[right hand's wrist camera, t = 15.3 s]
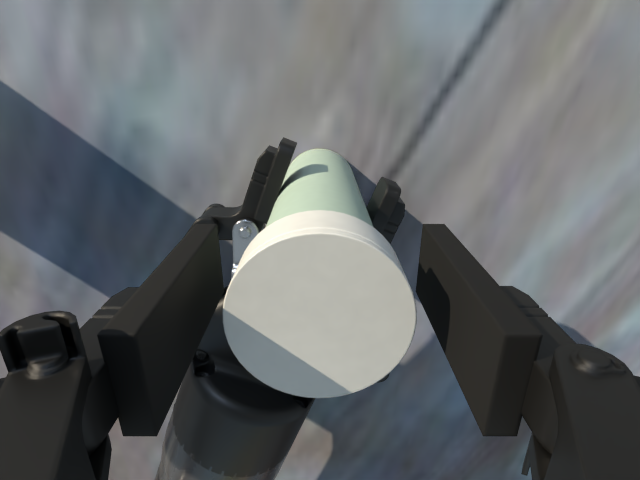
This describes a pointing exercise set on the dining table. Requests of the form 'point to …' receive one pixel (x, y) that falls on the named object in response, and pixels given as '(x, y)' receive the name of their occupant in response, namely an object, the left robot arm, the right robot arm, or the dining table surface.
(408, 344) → the lid
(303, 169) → the pale green cylinder
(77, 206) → the dining table surface
